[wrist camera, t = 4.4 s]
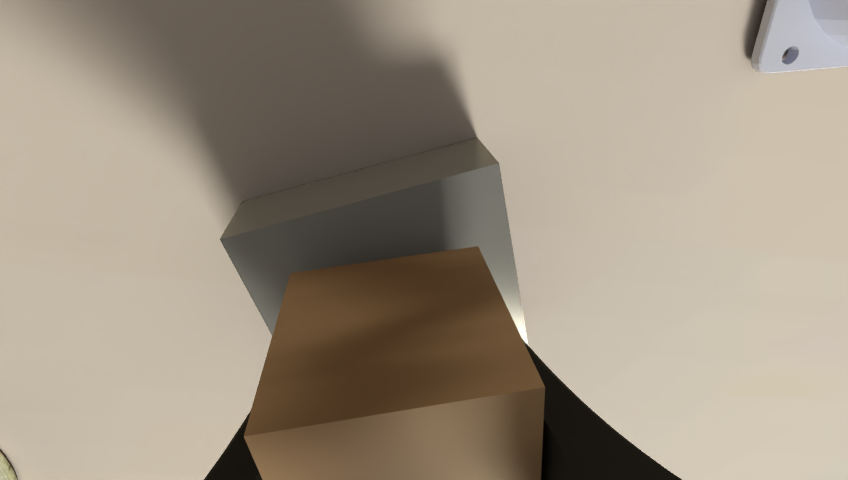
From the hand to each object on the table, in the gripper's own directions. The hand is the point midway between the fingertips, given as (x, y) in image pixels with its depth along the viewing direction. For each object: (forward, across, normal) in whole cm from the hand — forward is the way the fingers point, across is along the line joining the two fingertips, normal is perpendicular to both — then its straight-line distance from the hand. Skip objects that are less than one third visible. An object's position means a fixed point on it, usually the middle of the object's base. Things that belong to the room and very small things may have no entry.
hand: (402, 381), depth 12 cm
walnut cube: (+2, 0, 0) cm, 2 cm away
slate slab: (+6, 0, 0) cm, 6 cm away
